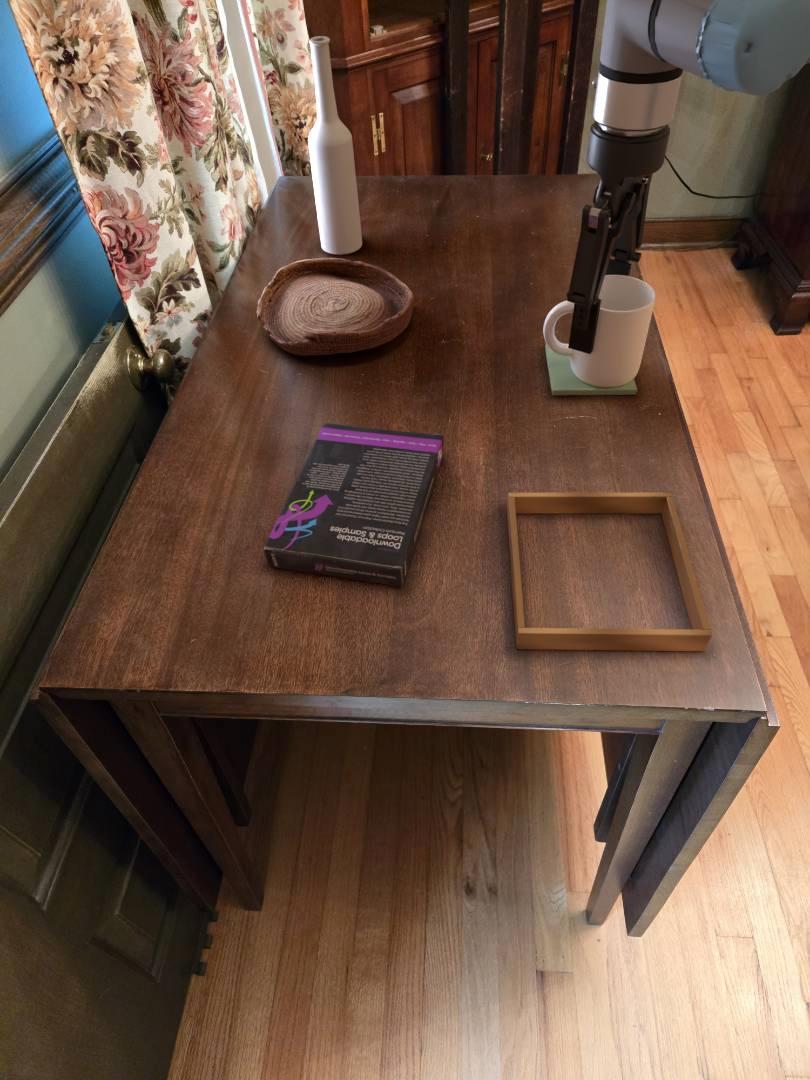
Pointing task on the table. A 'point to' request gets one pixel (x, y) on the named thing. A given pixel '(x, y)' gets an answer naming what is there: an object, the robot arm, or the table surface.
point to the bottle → (332, 163)
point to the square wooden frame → (609, 637)
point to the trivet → (577, 379)
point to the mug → (610, 332)
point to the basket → (333, 307)
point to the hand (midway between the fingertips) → (595, 330)
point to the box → (357, 504)
